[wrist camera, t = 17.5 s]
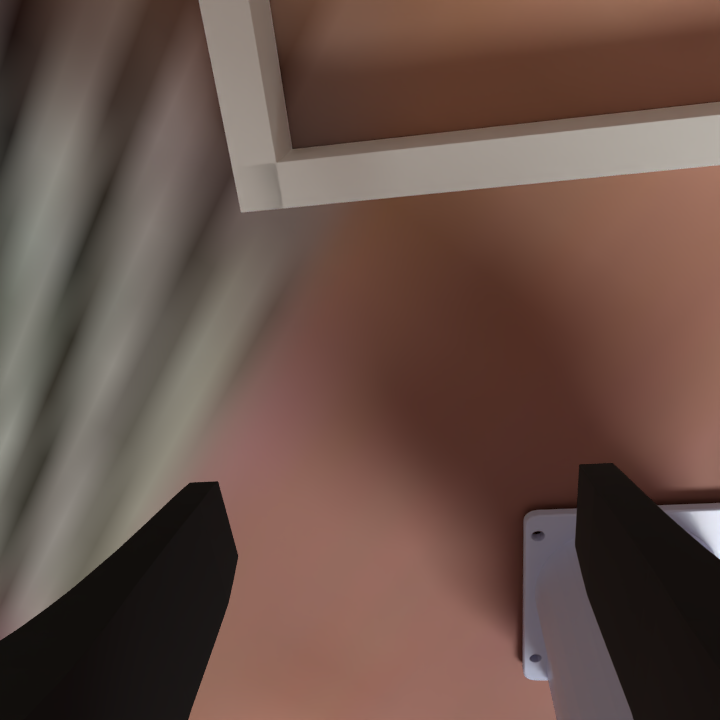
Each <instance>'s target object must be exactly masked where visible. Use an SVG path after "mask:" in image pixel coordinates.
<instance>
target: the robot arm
mask: <svg viewBox="0 0 720 720" xmlns="http://www.w3.org/2000/svg"><path fill="white" fill-rule="evenodd" d="M536 531H542V532H541V533H539V534H532V533H534V532H536ZM237 560H238V554H237V550H236V546H235V542H234V539H233V535H232V531H231V528H230V524H229V520H228V517H227V513H226V509H225V505H224V502H223V498H222V494H221V491H220V487H219V483H218V481H217V482H195V483H189V484H188V485H187V486H186V487H184V488H183V489H182V490H181V491H180V492H179V493H178V494H177V495H176V496H174V497H173V498H172V499H171V500H170V501H169V502H168V503H167V504H166V505H165V506H164V507H163V508H162V509H161V510H160V511H159V512H158V513H156V514H155V515H154V516H153V517H152V518H151V519H150V520H149V521H148V522H147V523H146V524H145V525H144V526H143V527H142V528H141V529H139V530H138V531H137V532H136V533H135V534H134V535H133V536H132V537H131V538H130V539H129V540H128V541H127V542H125V543H124V544H123V545H122V546H121V547H120V548H119V549H118V550H117V551H116V552H115V553H113V554H112V555H111V556H110V557H109V558H108V559H106V560H105V561H104V562H103V563H102V564H101V565H99V566H98V567H97V568H96V569H95V570H94V571H92V572H91V573H90V574H89V575H88V576H86V577H85V578H84V579H83V580H82V581H81V582H79V583H78V584H77V585H76V586H75V587H74V588H72V589H71V590H70V591H69V592H67V593H66V594H65V595H63V596H62V597H61V598H60V599H58V600H57V601H56V602H54V603H53V604H52V605H50V606H49V607H48V608H46V609H45V610H44V611H42V612H41V613H40V614H38V615H37V616H35V617H34V618H33V619H31V620H30V621H29V622H27V623H26V624H24V625H23V626H22V627H20V628H19V629H17V630H16V631H14V632H13V633H11V634H10V635H8V636H7V637H5V638H4V639H2V640H1V641H0V720H188V719H189V715H190V712H191V709H192V706H193V703H194V700H195V698H196V695H197V692H198V689H199V686H200V683H201V681H202V678H203V675H204V672H205V669H206V666H207V664H208V661H209V658H210V655H211V652H212V649H213V647H214V644H215V641H216V638H217V635H218V632H219V629H220V626H221V623H222V621H223V618H224V615H225V612H226V609H227V606H228V603H229V598H230V594H231V589H232V585H233V580H234V575H235V570H236V565H237ZM522 667H523V672H524V676H525V677H526V678H528V679H530V680H548V682H549V686H550V691H551V695H552V700H553V705H554V709H555V714H556V719H557V720H720V503H703V504H677V505H656V504H655V503H654V502H653V501H652V500H651V499H650V498H649V497H648V496H647V495H646V494H645V493H644V492H643V491H642V490H640V489H639V488H638V487H637V486H636V485H635V484H634V483H633V482H632V481H631V480H630V479H629V478H628V477H627V476H626V475H625V474H624V473H623V472H622V471H621V470H620V469H618V468H617V467H616V466H615V465H614V464H613V463H603V464H581V465H579V480H578V497H577V508H574V509H548V510H534V511H531V512H529V513H527V514H526V515H525V517H524V520H523V665H522Z"/></svg>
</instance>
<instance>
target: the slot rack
mask: <svg viewBox="0 0 720 720" xmlns="http://www.w3.org/2000/svg"><path fill="white" fill-rule="evenodd" d="M199 5H200V10H201V15H202V20H203V25H204V30H205V35H206V40H207V45H208V50H209V55H210V60H211V65H212V70H213V75H214V80H215V85H216V90H217V95H218V100H219V105H220V110H221V115H222V120H223V125H224V130H225V135H226V140H227V145H228V150H229V155H230V160H231V165H232V170H233V175H234V180H235V185H236V190H237V195H238V200H239V205H240V210H241V213H243V212H253V211H263V210H273V209H283V208H293V207H303V206H313V205H323V204H333V203H343V202H353V201H363V200H373V199H383V198H393V197H403V196H413V195H424V194H434V193H444V192H454V191H464V190H474V189H484V188H494V187H504V186H514V185H524V184H534V183H544V182H554V181H564V180H574V179H584V178H594V177H604V176H614V175H624V174H634V173H644V172H655V171H665V170H675V169H685V168H695V167H705V166H715V165H720V102H712V103H703V104H694V105H685V106H676V107H667V108H658V109H649V110H640V111H631V112H622V113H613V114H604V115H595V116H586V117H577V118H568V119H559V120H550V121H541V122H532V123H523V124H514V125H505V126H496V127H487V128H478V129H469V130H460V131H451V132H442V133H433V134H424V135H415V136H406V137H397V138H388V139H379V140H370V141H361V142H352V143H343V144H334V145H325V146H316V147H307V148H298V149H292V143H291V136H290V130H289V123H288V117H287V111H286V104H285V98H284V91H283V85H282V78H281V72H280V66H279V59H278V53H277V46H276V40H275V34H274V27H273V21H272V14H271V8H270V1H269V0H199Z"/></svg>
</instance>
